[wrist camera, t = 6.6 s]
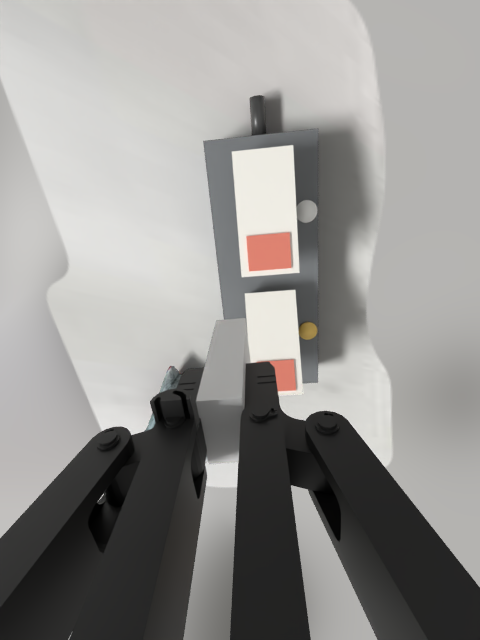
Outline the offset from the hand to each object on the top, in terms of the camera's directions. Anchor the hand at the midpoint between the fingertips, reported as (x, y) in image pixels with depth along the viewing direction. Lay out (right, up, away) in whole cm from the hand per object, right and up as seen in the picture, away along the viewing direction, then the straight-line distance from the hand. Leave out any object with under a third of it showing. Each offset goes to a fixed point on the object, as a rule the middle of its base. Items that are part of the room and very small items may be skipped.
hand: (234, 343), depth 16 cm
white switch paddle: (+3, -1, +12) cm, 13 cm away
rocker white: (+2, +9, +8) cm, 13 cm away
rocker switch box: (+3, +8, +15) cm, 17 cm away
